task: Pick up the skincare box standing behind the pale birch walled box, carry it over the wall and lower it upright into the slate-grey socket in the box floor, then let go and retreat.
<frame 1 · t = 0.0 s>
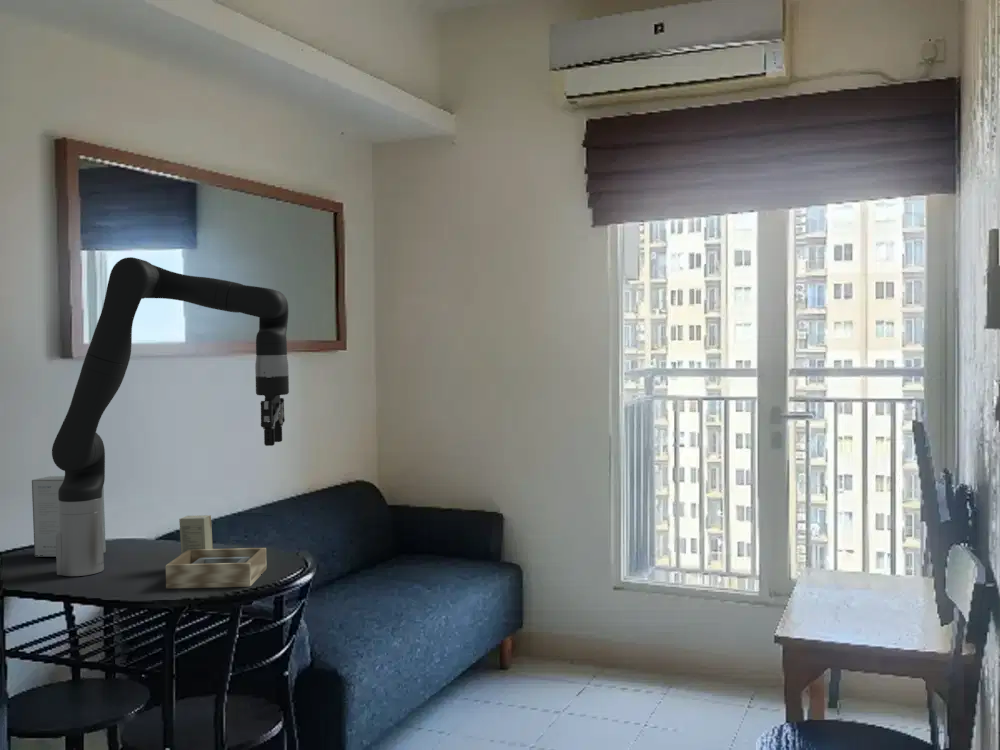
hand: (273, 443, 214), 29 cm above the table, fingers open, 8 cm apart
skincare box: (197, 568, 216), on the table
walled box: (218, 578, 206), on the table
hard drive box: (70, 556, 232), on the table
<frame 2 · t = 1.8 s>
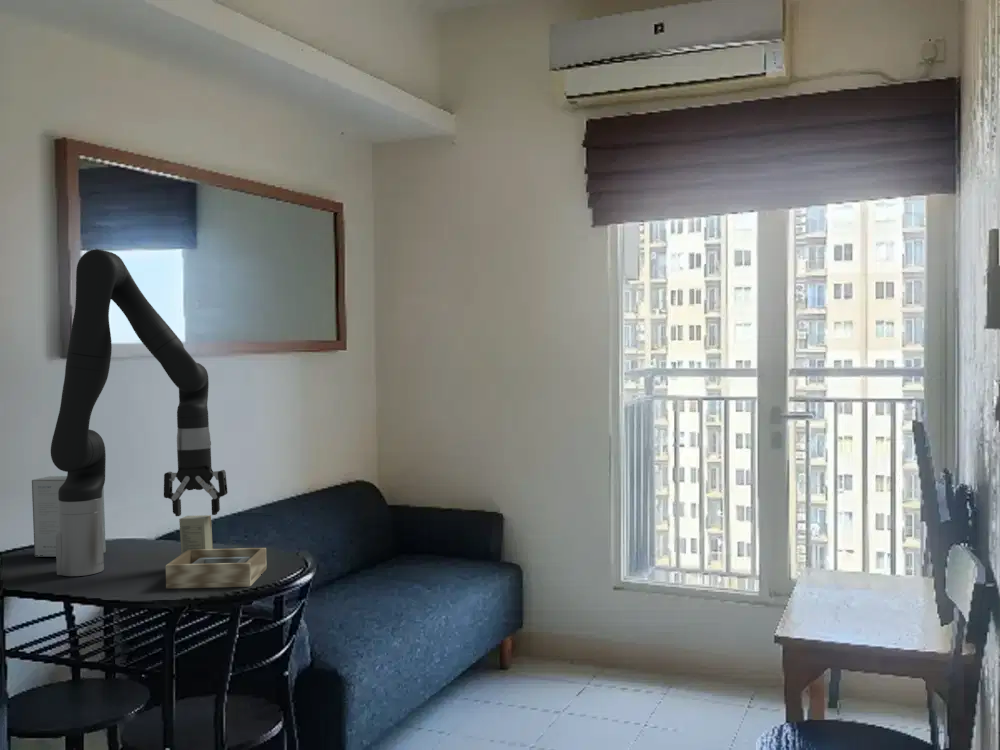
hand: (196, 515, 216), 13 cm above the table, fingers open, 8 cm apart
nothing on the table moved.
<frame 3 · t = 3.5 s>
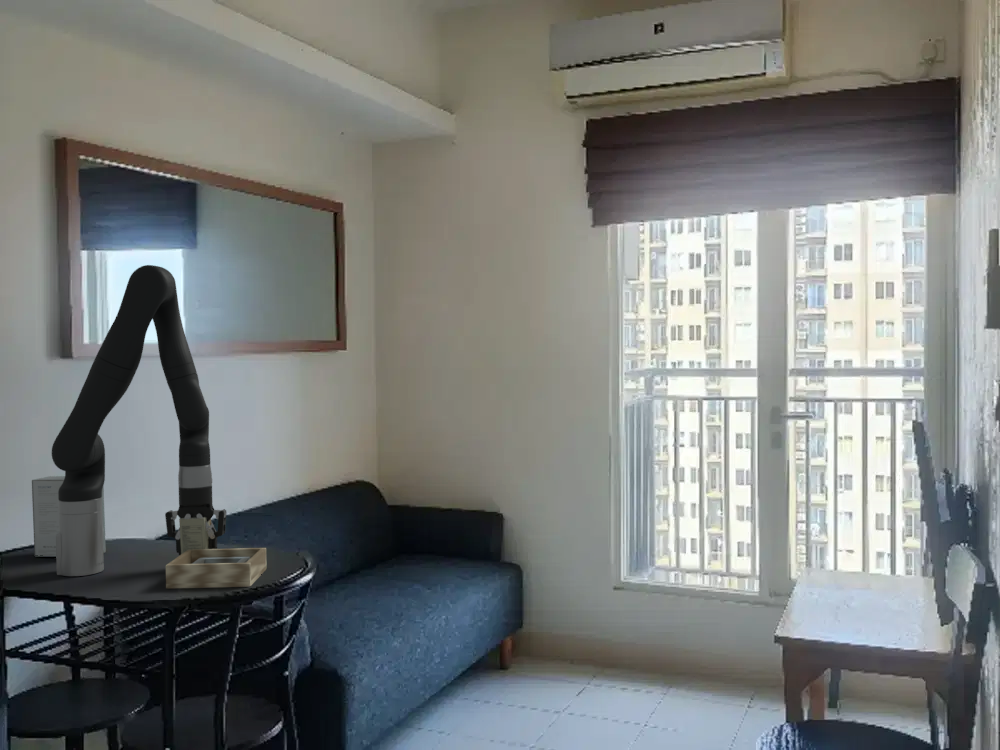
hand: (197, 554, 216), 3 cm above the table, fingers closed on skincare box, 6 cm apart
skincare box: (197, 568, 216), on the table, touching gripper
everything else where it was.
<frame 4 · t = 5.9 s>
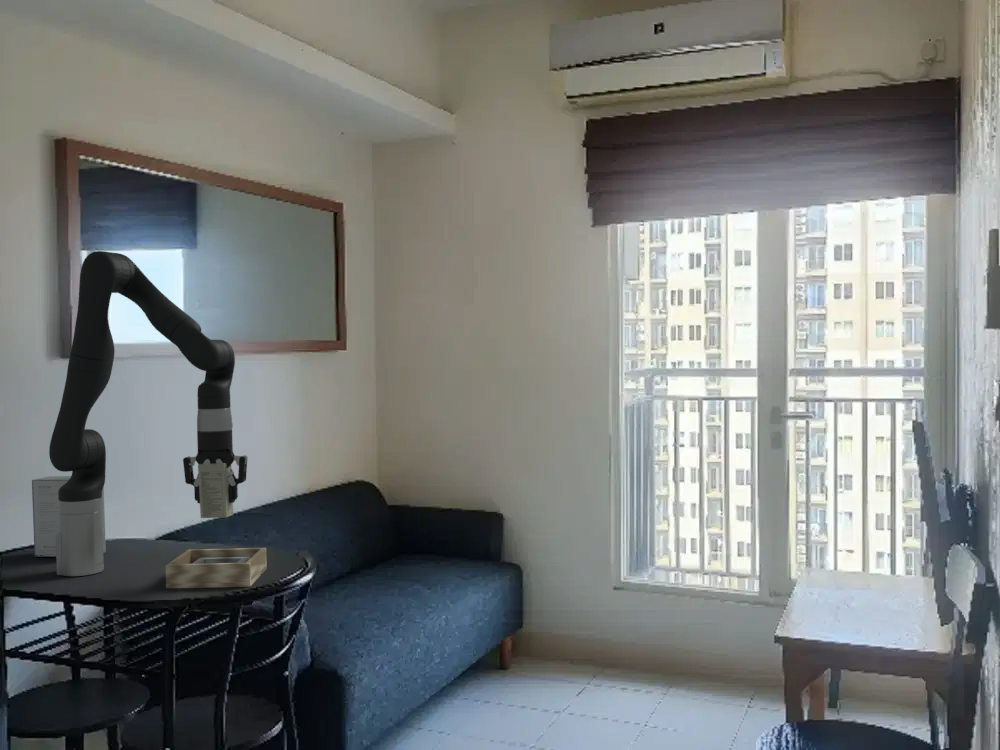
hand: (216, 502, 205), 17 cm above the table, fingers closed on skincare box, 6 cm apart
skincare box: (216, 517, 205), point 14 cm above the table, touching gripper
everything else where it was.
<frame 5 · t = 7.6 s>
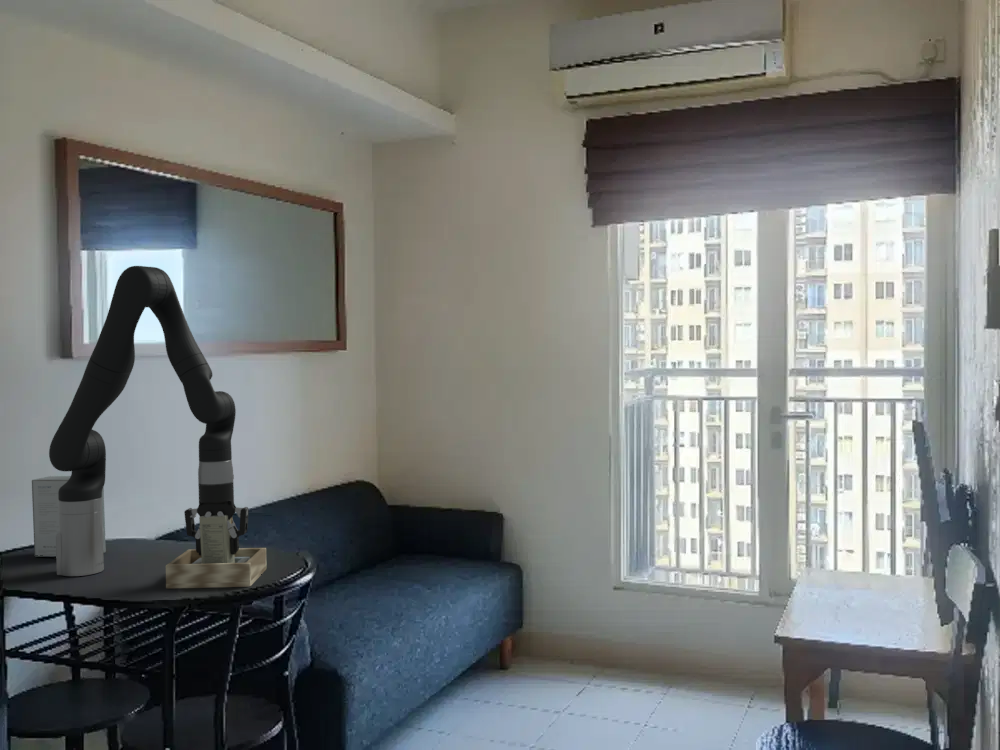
hand: (217, 554, 205), 6 cm above the table, fingers closed on skincare box, 6 cm apart
skincare box: (218, 569, 205), point 2 cm above the table, touching gripper
everything else where it was.
when the fingers open (5 cm above the table, at t = 8.7 s): skincare box stays where it is, resting on walled box.
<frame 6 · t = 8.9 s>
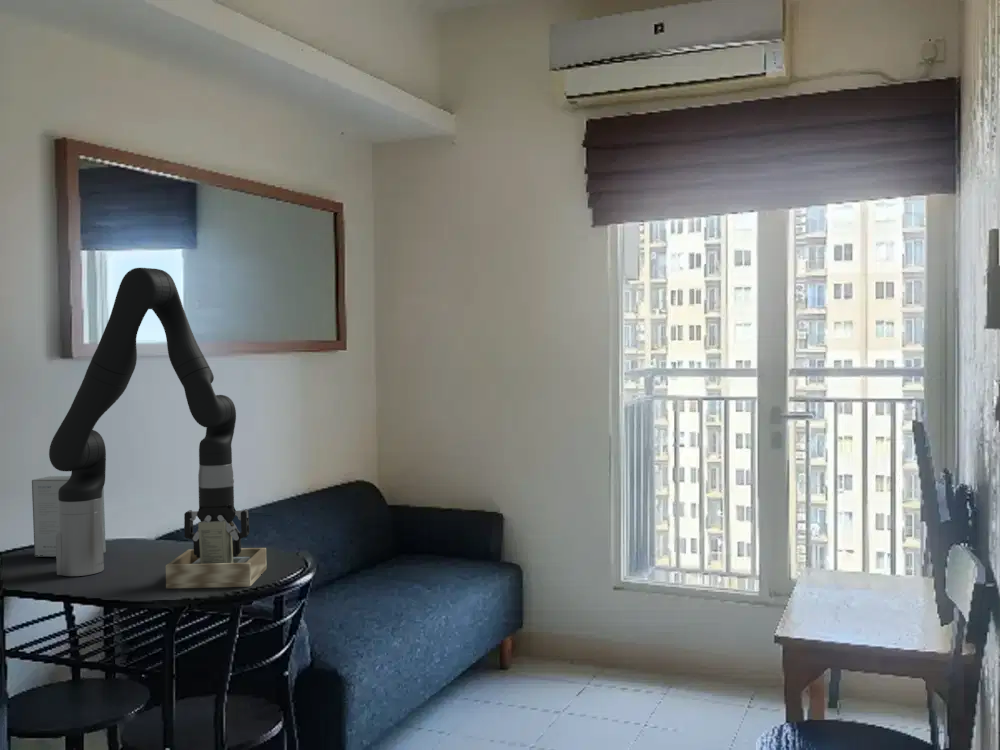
hand: (217, 556, 205), 5 cm above the table, fingers open, 7 cm apart
skincare box: (217, 574, 206), point 1 cm above the table, touching walled box
everything else where it was.
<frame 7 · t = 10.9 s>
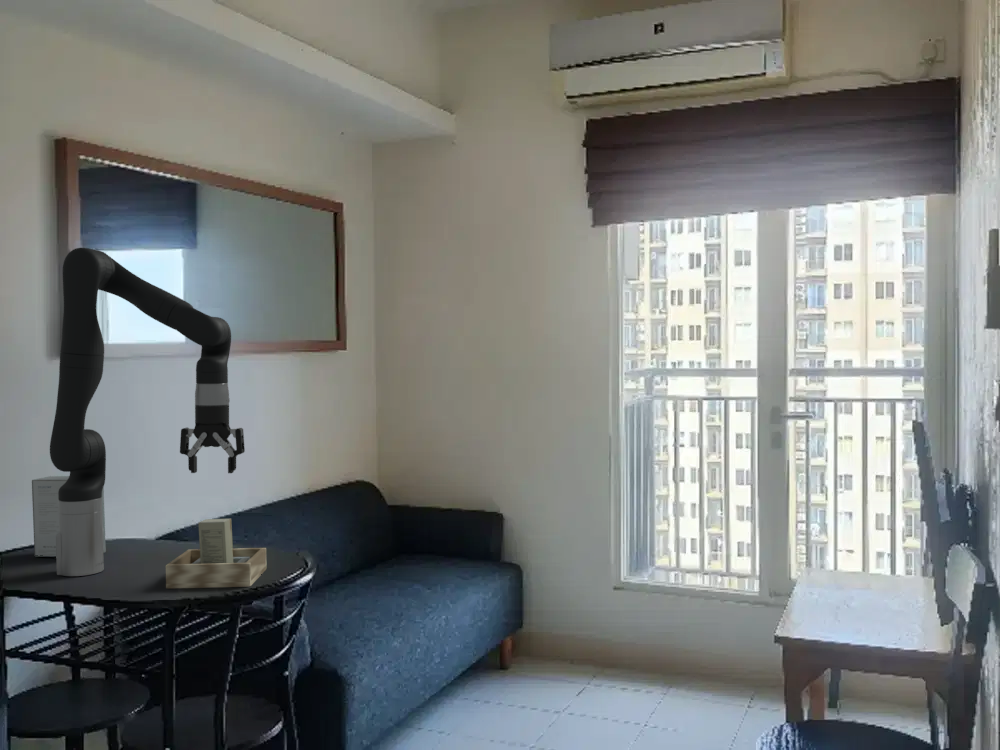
hand: (212, 472, 212), 23 cm above the table, fingers open, 8 cm apart
nothing on the table moved.
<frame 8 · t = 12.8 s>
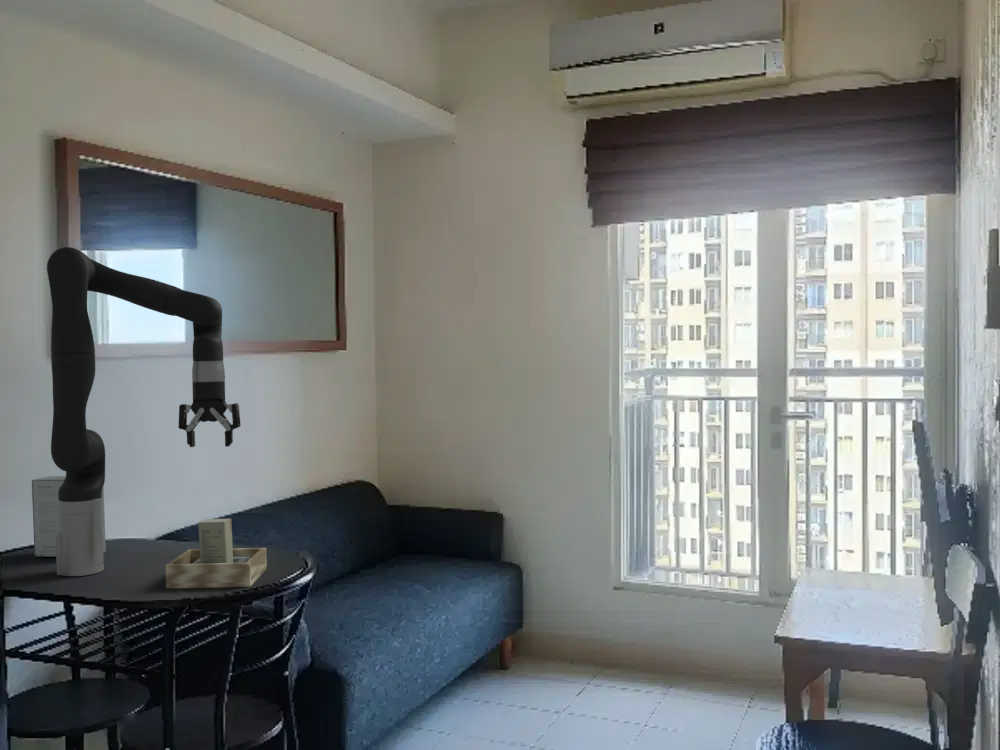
hand: (210, 446, 222), 28 cm above the table, fingers open, 8 cm apart
nothing on the table moved.
at the end: skincare box 0.3 cm from the target spot, point 0.8 cm above the table; skincare box tilted 0°; the gripper is holding nothing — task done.
